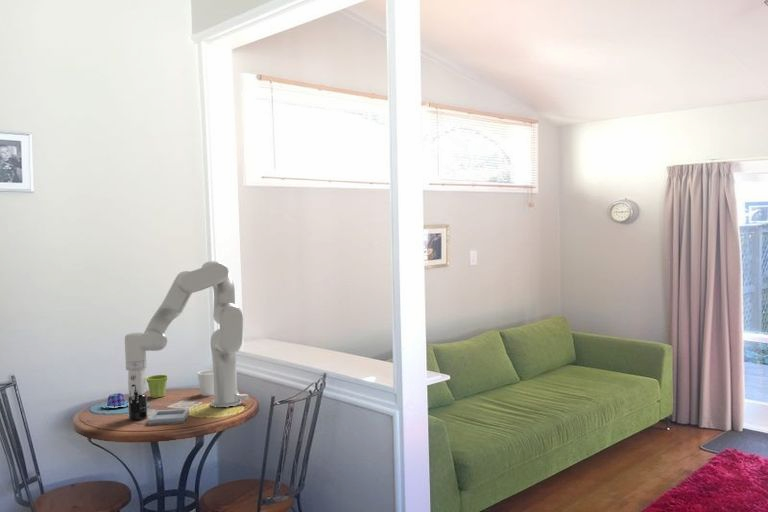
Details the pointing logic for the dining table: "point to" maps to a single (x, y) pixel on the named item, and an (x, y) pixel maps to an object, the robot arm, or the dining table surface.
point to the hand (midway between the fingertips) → (137, 410)
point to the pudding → (116, 400)
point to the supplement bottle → (142, 408)
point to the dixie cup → (206, 382)
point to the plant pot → (157, 385)
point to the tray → (168, 417)
